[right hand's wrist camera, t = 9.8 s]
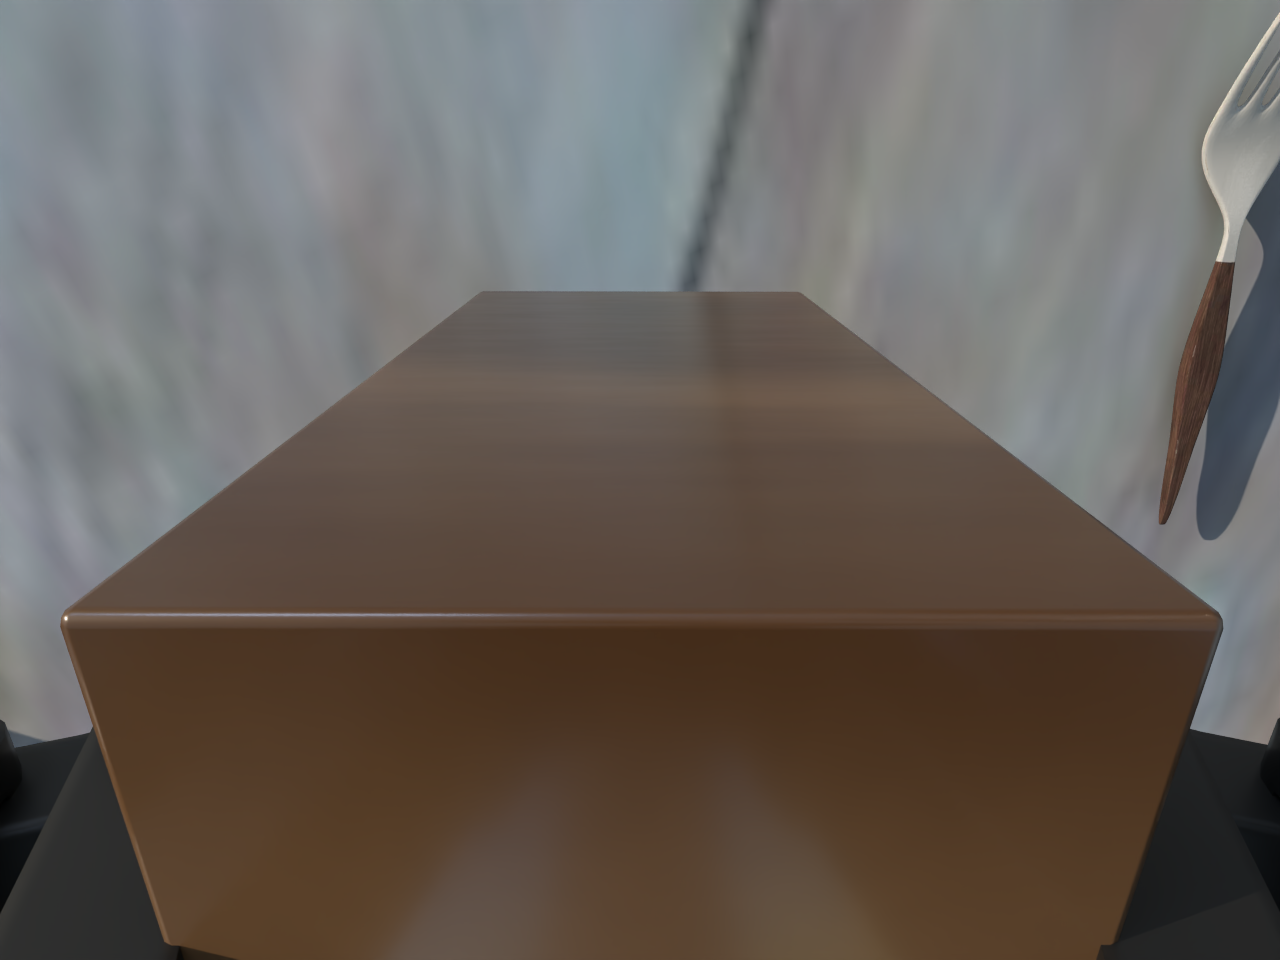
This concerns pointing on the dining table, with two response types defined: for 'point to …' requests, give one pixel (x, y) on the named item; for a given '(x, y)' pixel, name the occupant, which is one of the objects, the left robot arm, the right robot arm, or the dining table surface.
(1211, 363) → the fork
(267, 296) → the dining table surface
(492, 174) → the dining table surface
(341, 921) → the box
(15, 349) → the dining table surface
